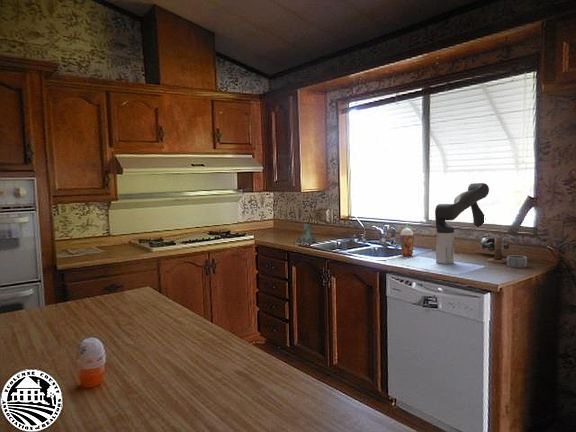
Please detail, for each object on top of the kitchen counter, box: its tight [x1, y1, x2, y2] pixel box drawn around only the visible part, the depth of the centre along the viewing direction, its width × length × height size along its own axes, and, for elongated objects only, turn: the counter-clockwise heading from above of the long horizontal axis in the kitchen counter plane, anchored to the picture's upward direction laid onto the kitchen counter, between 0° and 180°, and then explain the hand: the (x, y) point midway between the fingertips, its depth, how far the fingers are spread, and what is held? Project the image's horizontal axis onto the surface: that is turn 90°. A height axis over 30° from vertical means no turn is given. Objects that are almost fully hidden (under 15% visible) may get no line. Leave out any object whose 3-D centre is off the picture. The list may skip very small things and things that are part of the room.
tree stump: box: [295, 223, 318, 244], centre depth 344 cm, size 18×20×18 cm
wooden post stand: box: [486, 236, 507, 264], centre depth 245 cm, size 11×11×14 cm
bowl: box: [506, 254, 528, 269], centre depth 231 cm, size 9×9×5 cm
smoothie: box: [399, 223, 415, 257], centre depth 273 cm, size 8×8×20 cm
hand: (498, 247), depth 243 cm, fingers open, 8 cm apart
